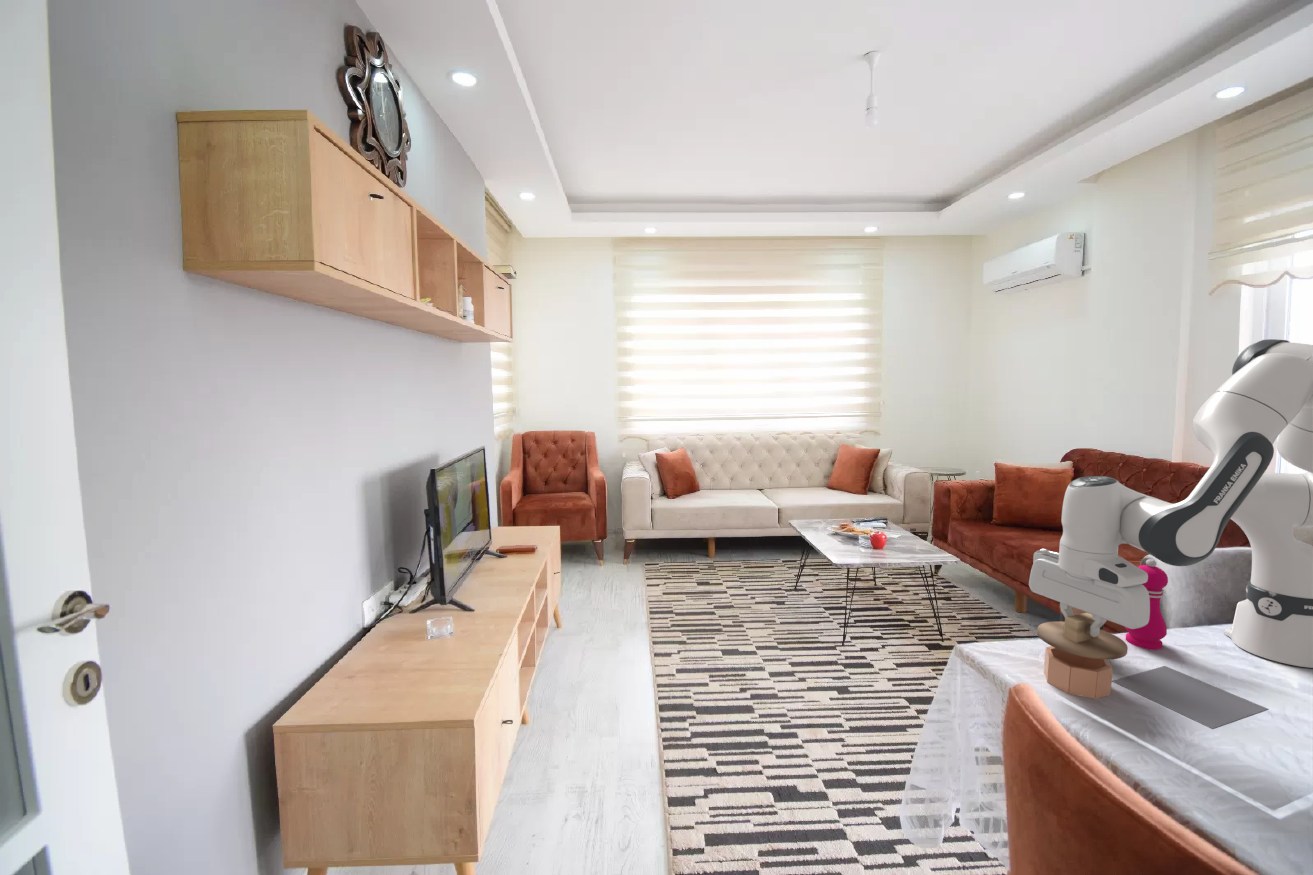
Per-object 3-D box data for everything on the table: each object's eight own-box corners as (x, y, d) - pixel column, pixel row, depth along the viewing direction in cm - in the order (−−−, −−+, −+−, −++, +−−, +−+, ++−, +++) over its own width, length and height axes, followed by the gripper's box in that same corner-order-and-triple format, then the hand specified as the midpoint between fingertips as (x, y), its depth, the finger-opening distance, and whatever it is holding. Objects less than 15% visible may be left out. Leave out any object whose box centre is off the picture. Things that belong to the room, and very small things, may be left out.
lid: (1069, 620, 120) (1071, 598, 119) (1145, 651, 107) (1147, 626, 106) (1020, 631, 115) (1021, 609, 114) (1093, 665, 102) (1095, 639, 101)
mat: (1164, 669, 118) (1164, 665, 118) (1267, 713, 103) (1268, 708, 103) (1111, 684, 113) (1111, 680, 113) (1211, 733, 98) (1212, 728, 98)
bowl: (1068, 669, 119) (1070, 641, 118) (1120, 694, 109) (1123, 665, 109) (1032, 678, 115) (1034, 650, 115) (1084, 705, 106) (1086, 675, 105)
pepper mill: (1173, 655, 124) (1182, 565, 121) (1134, 652, 125) (1142, 564, 123) (1151, 639, 131) (1159, 554, 128) (1115, 637, 132) (1122, 553, 130)
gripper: (1023, 547, 118) (1019, 612, 119) (1135, 582, 99) (1128, 658, 100) (1045, 544, 120) (1041, 607, 121) (1158, 577, 101) (1151, 651, 102)
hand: (1081, 631), depth 111 cm, fingers closed on lid, 2 cm apart
